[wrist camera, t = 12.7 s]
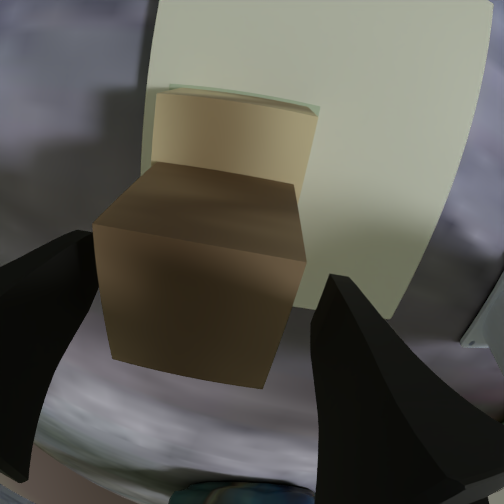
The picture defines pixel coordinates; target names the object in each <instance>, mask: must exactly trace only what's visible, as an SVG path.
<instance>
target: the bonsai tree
mask: <svg viewBox="0 0 504 504" xmlns="http://www.w3.org/2000/svg"><path fill="white" fill-rule="evenodd" d="M314 502H315V493H314V492H313V491H311V490H307V489H303V488H299V487H295V486H286V485H276V484H268V483H247V482H206V483H200V484H193V485H190V486H189V487H187V488H186V489H183V490H179V491H175V492H174V493H173V494H172V496H171V498H170V499H169V503H168V504H314Z"/></svg>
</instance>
